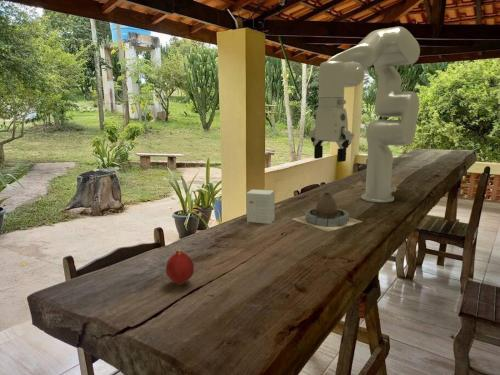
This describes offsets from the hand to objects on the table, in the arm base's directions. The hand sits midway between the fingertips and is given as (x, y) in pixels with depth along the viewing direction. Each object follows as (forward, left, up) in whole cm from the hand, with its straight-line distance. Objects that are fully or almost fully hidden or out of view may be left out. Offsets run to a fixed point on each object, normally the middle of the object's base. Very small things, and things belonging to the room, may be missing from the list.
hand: (329, 159), depth 113 cm
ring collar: (+1, 0, -20) cm, 20 cm away
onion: (+57, +11, -21) cm, 62 cm away
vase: (+1, 0, -20) cm, 20 cm away
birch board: (+1, 0, -21) cm, 21 cm away
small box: (+18, -13, -21) cm, 30 cm away
